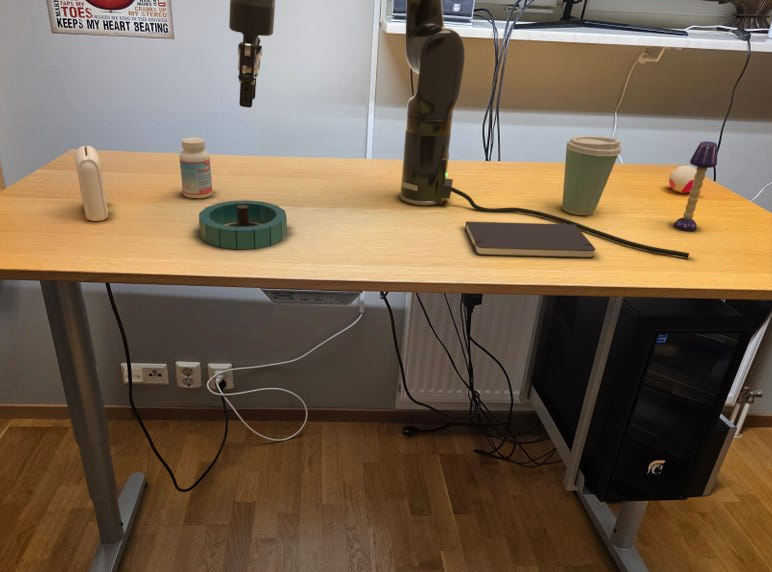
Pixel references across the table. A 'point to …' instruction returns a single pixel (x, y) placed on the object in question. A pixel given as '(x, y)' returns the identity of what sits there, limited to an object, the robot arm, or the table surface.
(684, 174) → the stress ball
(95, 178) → the photo printer
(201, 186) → the pill bottle
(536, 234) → the notebook
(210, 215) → the ring
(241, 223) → the peg stand
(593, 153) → the disposable coffee cup
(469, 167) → the table surface
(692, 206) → the toy lamp
